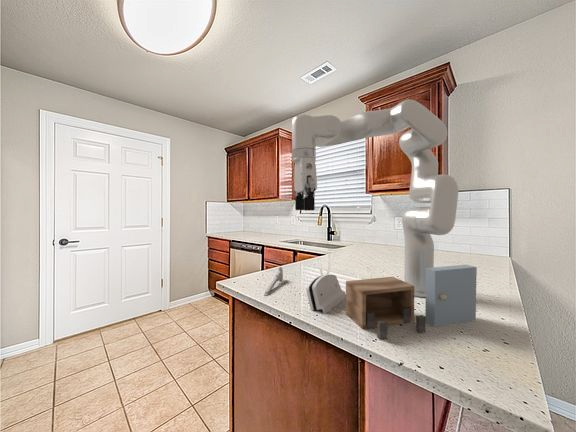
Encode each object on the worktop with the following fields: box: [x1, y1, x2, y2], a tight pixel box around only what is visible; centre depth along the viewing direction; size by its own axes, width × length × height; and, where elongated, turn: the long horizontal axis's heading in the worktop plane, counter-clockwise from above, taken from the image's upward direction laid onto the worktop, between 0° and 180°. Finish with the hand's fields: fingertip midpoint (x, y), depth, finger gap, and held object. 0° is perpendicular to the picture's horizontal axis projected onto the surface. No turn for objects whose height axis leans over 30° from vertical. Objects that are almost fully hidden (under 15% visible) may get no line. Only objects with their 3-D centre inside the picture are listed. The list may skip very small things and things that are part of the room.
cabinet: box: [345, 276, 427, 340], centre depth 66 cm, size 14×16×10 cm
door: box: [424, 264, 478, 328], centre depth 65 cm, size 4×14×15 cm, turn 104°
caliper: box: [263, 266, 284, 297], centre depth 96 cm, size 20×1×6 cm, turn 164°
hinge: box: [305, 274, 346, 315], centre depth 80 cm, size 17×5×10 cm, turn 143°
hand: (304, 210), depth 77 cm, fingers open, 9 cm apart
